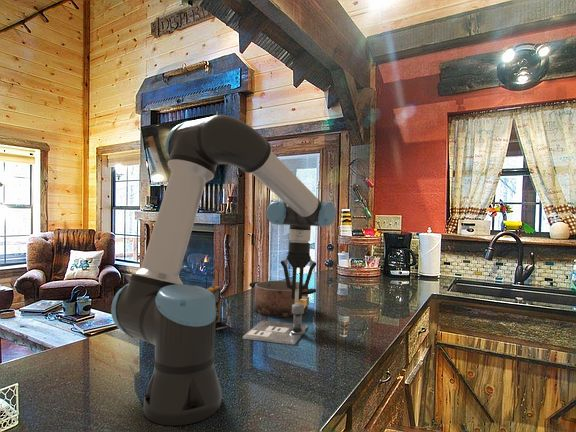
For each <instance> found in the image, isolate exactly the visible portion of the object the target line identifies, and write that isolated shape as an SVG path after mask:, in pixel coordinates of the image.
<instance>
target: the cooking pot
mask: <svg viewBox="0 0 576 432" xmlns="http://www.w3.org/2000/svg"><path fill="white" fill-rule="evenodd" d="M290 283H291V285H292V280H290ZM303 285H305V283H304V282H303ZM248 286H249V287H250V288H253V289H254V311H255V312H256V313H257V312H258V313H257V314H259V313H260V314H259V315H262V314H263V315H262V316H266V315H267V316H268V317H272V316H273V317H274V318H292V317H293V315H294V314H293V313H292V305H293V304H295V299H292V289H290V288H288V287H287V284H286V280H264V281H253V282H250V283H249V285H248ZM296 289H299V281H296ZM316 292H317V289H316V288H309V286H308V287H307V289H304V290H302V296H305V297H309V295H311V294H315V293H316ZM299 300H300V299H299ZM308 309H309V305H308V306H306V307H305V308H304V313H303V314H302V316H303V315H305V314H306V313H307V312H308ZM273 317H272V318H273Z"/></svg>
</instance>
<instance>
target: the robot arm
mask: <svg viewBox="0 0 576 432" xmlns="http://www.w3.org/2000/svg"><path fill="white" fill-rule="evenodd" d="M270 143H271V142H269V141H268V140H267V139H266V138H265V137H264V136H263V135H261V133H259V131H257V130H256V129H255V128H253V127H252V126H250V125H249V124H247V123H246V122H244V121H242V120H240V119H238V118H236V117H234V116H230V115H225V114H216V115H212V116H209V117H208V116H207V117H204V118H199V119H195V120H186V121H184V122H182V123H179V124H177V125H176V126H174V127H173V128H172V129H171V130H170V131H169V133H168V134H167V137H166V140H165V147H164V148H165V152H166V153H167V154H166V155H167V158H168V161H167V166H168V169H169V170H170V172H171V173H170V174H169V175H170V176H169V179H168V182H167V185H166V189H165V192H164V195H163V197H162V201H161V203H160V207H159V210H158V213H157V217H156V220H155V223H154V226H153V229H152V232H151V235H150V239H149V242H148V246H147V248H146V252H145V254H144V257H143V260H142V264H141V266H140V267H139V268H137V269H136V270H134V271H132V272H131V275H130V277H129V281H128V283H127V284H125V285H124V286H122V287H121V288H120V289H119V290H118V291H117V292H116V293H115V295H114V297H113V299H112V303H111V309H110V312H111V318H112V321H113V322H114V323H113V324H114V325H115V326H116V327H117V328H118V329H119V330H120V331H121V332H123V333H124V334H126V336H129V337H132V338H135V339H138V340H141V341H144V342H146V343H148V344H151V345H153V346H154V363H153V366H154V369H153V372H152V375H151V377H150V380H149V382H148V385H147V386H148V387H147V389H146V392H145V394H144V397H143V407H142V408H143V409H142V411H143V415H144V416H145V418H147V420H149V421H151V422H152V423H155V424H158V425H162V426H185V425H190V424H195V423H198V422H201V421H204V420H206V419H208V418H209V417H212V416H213V415H214V414H216V413H217V412H218V411H219V409H220V407H221V406H222V395H223V393H222V388H221V385H220V380H219V377H218V375H217V374H218V373H217V370H216V368H215V367H216V366H215V350H216V349H215V347H216V330H215V329H216V325H217V323H216V313H217V312H216V306H215V297H214V295H213V294H212V293H211V292H210V291H209V290H207V289H206V287H202V286H198V285H189V284H185V283H183V281H182V280H181V278H180V273H181V270H182V269H181V268H182V266H183V262H184V259H185V255H186V252H187V249H188V245H189V242H190V238H191V234H192V231H193V227H194V225H195V221H196V217H197V213H198V210H199V207H200V203H201V199H202V197H203V192H204V189H205V186H206V183H208V182H210V181H211V180H213V179H214V177H215V174H216V171H217V167H218V166H219V165H220V166H221V165H231V166H234V167H236V168H238V169H240V170H241V171H242V172H243V173H245V174H252V175H253V176H254V178H257V180H259V181H260V182H261V183H262V184H263V185H264V186H265V187H267V188H268V190H270V192H272V193H274V195H276V197H278V198H279V199H280V200H281V201H280V200H278V201H272V202H270V203H269V205H268V206H267V208H266V218H267V220H268V221H269V223H270V224H273V225H277V226H280V225H281V226H282V225H286V226H289V232H288V233H289V235H288V236H289V237H288V240H289V242H288V253H287V255H286V258H284V259H281V261H280V264H281V266H282V268H283V273H284V274H283V275H284V278H285V281H286V284H287V287H288V288H290V289H292V299H295V304H296V303H297V302H298V301H299V299H302V290H304V289H307V287H308V288H309V283H310V281H311V277H312V274H313V272H314V269H315V267H316V266H317V262H316V261H313V260H312V258H311V255H310V253H311V252H310V251H311V244H310V242H311V233H312V231H311V229H312V228H311V227H329V226H331V225H333V224H334V222H335V221H336V220H335V218H336V215H337V213H336V208H335V204H333V203H332V202H330V201H326V200H324V201H321V200H320V199H319V198H318V197H317V196H316V195H315V194H314V193H313V192H312V191H311V190H310V189H309V188H308V187H307V186H306V185H305V184H304V183H303V182H302V181H301V180H300V179H299V178H298V177H297V176H296V175H295V174H294V173H293V171H291V170H290V169H289V168H288V167H287V166H286V164H284V162H283V161H282V160H281V159H280V158H279V157H278V156H277V155H276V154H275V153H274V152H273V151H272V145H271V144H270ZM288 263H289V265H290V266H291V268H292V279H290V274H289V269H288ZM308 264H309V265H308ZM307 265H308V266H309V268H308V273H307V275H306V278H305V283H304V282H303V281H304V269H305V268H306V266H307ZM298 268H299V281H298V282H299V289H296V282H297V271H298V270H297V269H298ZM290 281H292V285H291V283H290ZM303 283H304V284H305V285H303Z"/></svg>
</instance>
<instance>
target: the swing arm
mask: <svg viewBox="0 0 576 432" xmlns="http://www.w3.org/2000/svg"><path fill="white" fill-rule="evenodd" d="M309 305H310V296H308V297H305V296H302V299H300V300H299V301H298V302H297V303H296V304H293V305H292V313H293V314H303V313H304V308H305V307H306V306H308V307H309ZM303 315H304V314H303Z"/></svg>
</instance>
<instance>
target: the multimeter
mask: <svg viewBox="0 0 576 432" xmlns="http://www.w3.org/2000/svg"><path fill="white" fill-rule="evenodd" d="M216 269H217V271H218V276H217V285H216V279H215V276H216V274H215V273H216V272H215V268H213V270H212V269H208V270H207V272H206V276H205V277H206V279H205V281H206V282H205V289H207V290H209V291H210V292H211V293H212V294H213V295H214V297H215V306H216V312H217V313H216V324H217V323H219V322H220V320H225V321H223V322H222V323H223V324H224V325H226V326H221V327H217V328H215V331H216V330H222V329H224V328H225V329H226V327H230V328H233V326H231V324H229V323H227V322H228V320H227V319H226V318H222V317H221V290H222V287H221V286H220V284H219V282H220V281H219V280H220V270H219V268H218V267H216ZM209 271H211V273H212V281H211V282H212V283H211V286H210V287H208V286H207V285H208V284H207V283H208V274H209Z"/></svg>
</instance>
